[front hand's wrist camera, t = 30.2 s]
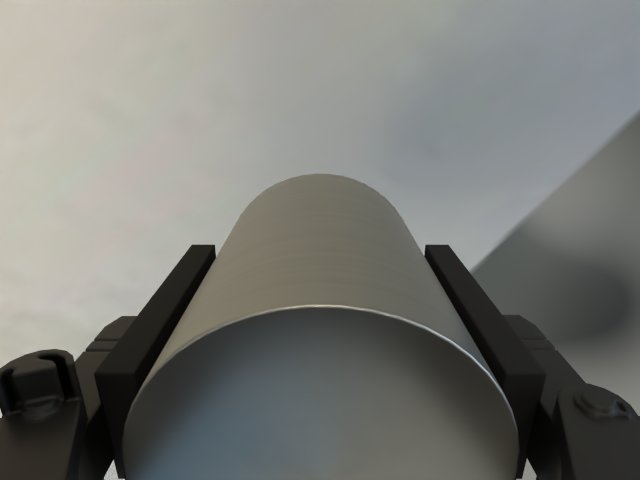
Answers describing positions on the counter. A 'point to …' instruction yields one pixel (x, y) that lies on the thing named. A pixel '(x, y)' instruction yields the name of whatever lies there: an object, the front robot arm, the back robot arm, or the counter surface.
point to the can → (320, 357)
